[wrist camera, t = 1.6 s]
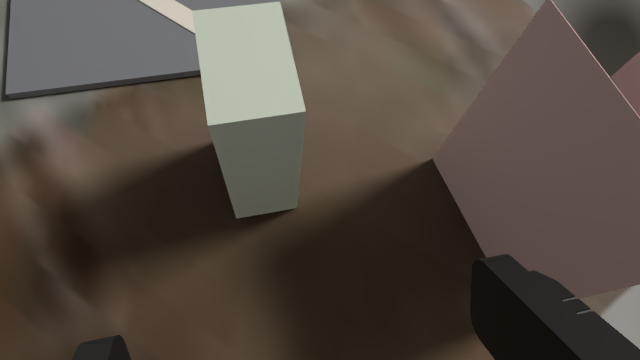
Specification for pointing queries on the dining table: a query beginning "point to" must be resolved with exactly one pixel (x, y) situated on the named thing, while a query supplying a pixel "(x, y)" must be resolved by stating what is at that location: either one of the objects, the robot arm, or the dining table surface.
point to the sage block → (252, 104)
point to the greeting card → (553, 161)
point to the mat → (102, 43)
